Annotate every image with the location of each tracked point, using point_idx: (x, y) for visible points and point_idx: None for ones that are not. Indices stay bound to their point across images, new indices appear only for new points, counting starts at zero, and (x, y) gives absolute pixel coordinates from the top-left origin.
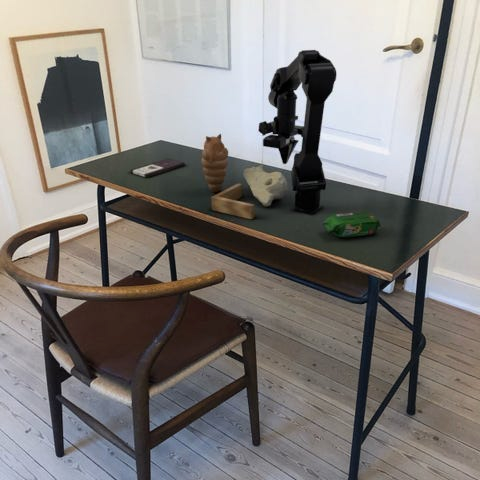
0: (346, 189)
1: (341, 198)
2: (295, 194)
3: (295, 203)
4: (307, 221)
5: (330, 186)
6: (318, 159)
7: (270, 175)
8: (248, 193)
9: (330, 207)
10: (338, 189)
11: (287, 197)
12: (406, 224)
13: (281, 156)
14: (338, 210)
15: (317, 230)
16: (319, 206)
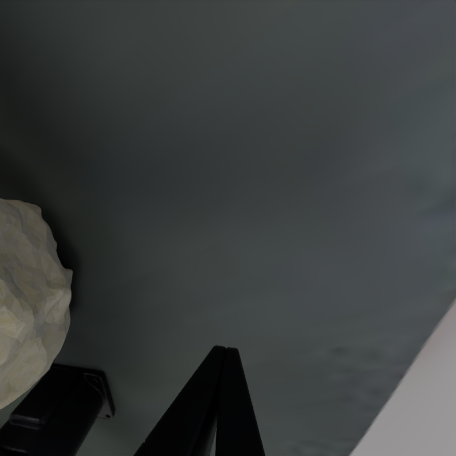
0: (306, 446)
1: (215, 441)
2: (13, 411)
3: (43, 377)
4: (20, 400)
5: (316, 408)
6: None
7: None
8: (31, 148)
9: (134, 427)
10: (294, 429)
11: (117, 316)
12: None
13: (167, 416)
14: (129, 441)
15: (3, 421)
16: (104, 415)
